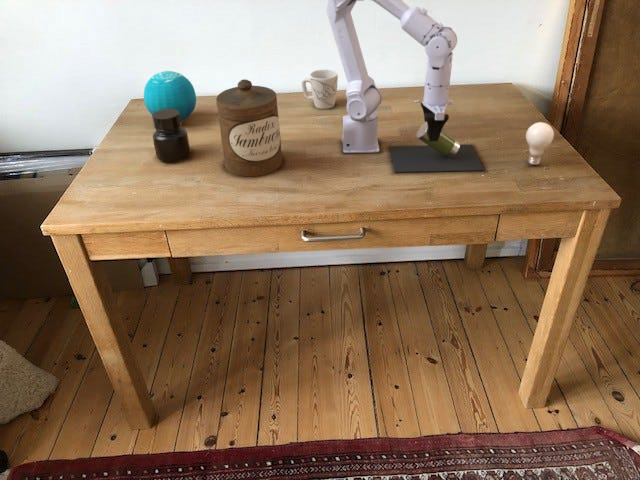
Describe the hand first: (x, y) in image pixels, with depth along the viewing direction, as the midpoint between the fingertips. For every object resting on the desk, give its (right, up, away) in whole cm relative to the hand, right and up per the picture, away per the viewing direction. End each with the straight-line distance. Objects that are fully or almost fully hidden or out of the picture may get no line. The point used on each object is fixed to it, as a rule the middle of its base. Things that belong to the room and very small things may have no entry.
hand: (431, 135), depth 137 cm
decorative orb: (-72, +10, +28) cm, 78 cm away
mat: (+2, -5, +4) cm, 7 cm away
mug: (-28, +16, +35) cm, 48 cm away
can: (+6, -3, +2) cm, 7 cm away
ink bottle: (-67, -4, +10) cm, 68 cm away
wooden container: (-45, -6, +5) cm, 46 cm away
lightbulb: (+26, -7, 0) cm, 27 cm away
